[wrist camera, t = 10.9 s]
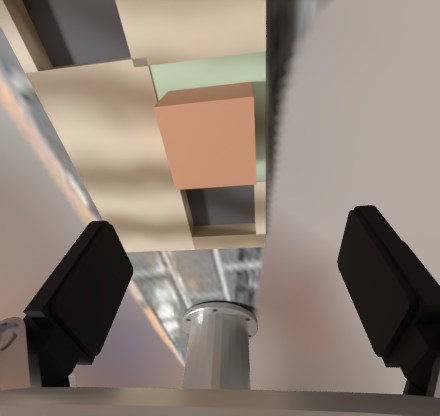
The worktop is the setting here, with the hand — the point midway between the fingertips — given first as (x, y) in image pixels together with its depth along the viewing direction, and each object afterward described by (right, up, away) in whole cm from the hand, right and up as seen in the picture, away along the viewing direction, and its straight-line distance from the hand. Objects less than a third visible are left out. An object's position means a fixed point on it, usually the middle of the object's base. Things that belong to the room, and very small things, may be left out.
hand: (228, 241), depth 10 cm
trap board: (-5, +8, +12) cm, 15 cm away
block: (-1, +8, +9) cm, 12 cm away
